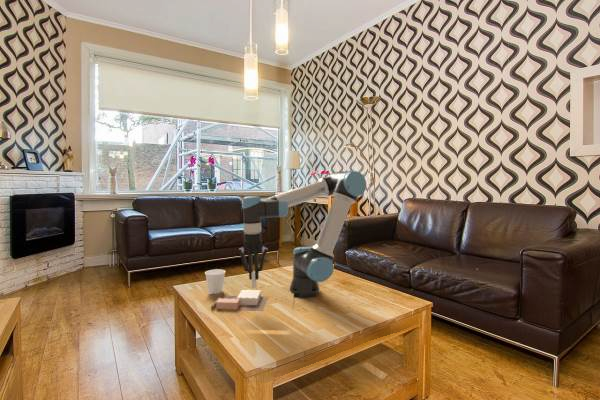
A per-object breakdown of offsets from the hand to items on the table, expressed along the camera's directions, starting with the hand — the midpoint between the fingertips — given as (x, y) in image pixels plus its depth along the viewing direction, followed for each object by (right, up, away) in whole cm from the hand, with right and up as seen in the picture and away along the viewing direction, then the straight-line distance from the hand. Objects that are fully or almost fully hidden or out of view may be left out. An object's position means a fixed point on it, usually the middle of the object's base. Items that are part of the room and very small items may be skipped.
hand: (254, 286), depth 137 cm
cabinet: (-11, -9, +1) cm, 14 cm away
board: (-7, -10, +6) cm, 13 cm away
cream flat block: (-4, -9, +9) cm, 13 cm away
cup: (-22, -9, +20) cm, 31 cm away
